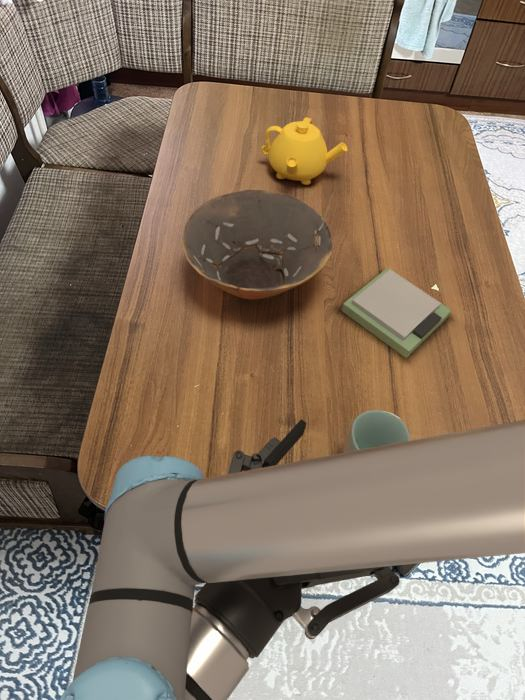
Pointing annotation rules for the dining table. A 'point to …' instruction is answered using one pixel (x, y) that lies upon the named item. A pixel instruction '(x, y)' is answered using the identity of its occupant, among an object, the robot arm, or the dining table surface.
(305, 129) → the teapot
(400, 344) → the scale
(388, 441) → the cup
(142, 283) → the dining table surface
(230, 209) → the bowl
